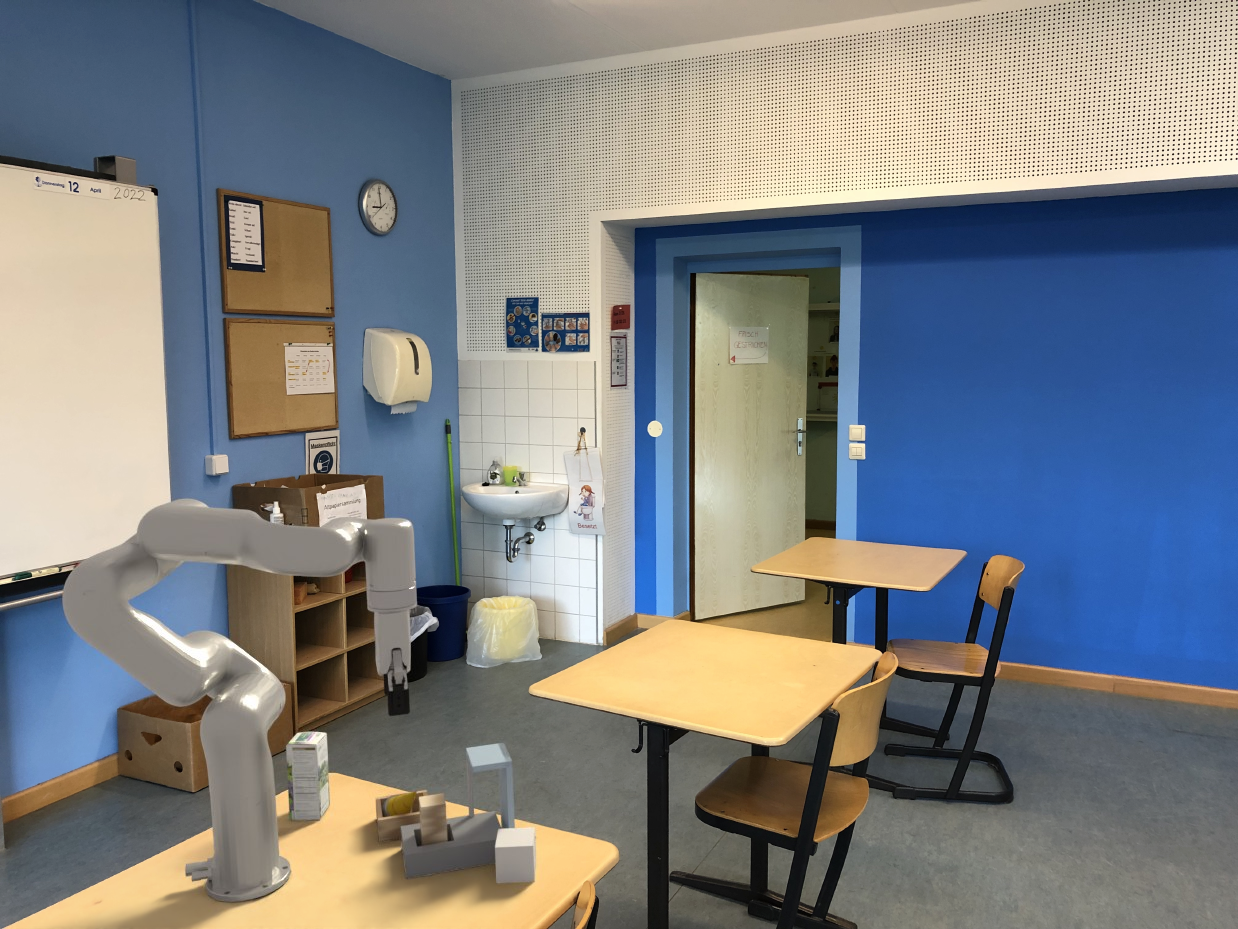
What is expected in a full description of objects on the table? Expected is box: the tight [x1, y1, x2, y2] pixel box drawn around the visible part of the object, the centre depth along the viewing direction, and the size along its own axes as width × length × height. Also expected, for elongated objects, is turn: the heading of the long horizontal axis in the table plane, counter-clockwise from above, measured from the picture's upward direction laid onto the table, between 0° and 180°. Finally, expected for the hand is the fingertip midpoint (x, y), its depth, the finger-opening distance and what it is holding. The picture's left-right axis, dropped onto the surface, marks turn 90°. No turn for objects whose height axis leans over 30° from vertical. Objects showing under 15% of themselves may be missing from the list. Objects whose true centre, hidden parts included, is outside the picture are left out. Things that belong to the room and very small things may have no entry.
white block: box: [495, 826, 537, 884], centre depth 151 cm, size 6×6×6 cm
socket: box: [400, 810, 502, 880], centre depth 157 cm, size 16×10×4 cm, turn 107°
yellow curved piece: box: [382, 790, 417, 817], centre depth 166 cm, size 5×5×10 cm
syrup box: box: [285, 731, 331, 821], centre depth 172 cm, size 6×6×14 cm
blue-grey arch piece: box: [465, 742, 516, 829], centre depth 159 cm, size 6×8×16 cm
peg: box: [419, 793, 448, 846], centre depth 156 cm, size 4×4×10 cm
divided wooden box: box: [374, 789, 429, 844], centre depth 167 cm, size 9×9×4 cm
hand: (396, 703), depth 149 cm, fingers open, 9 cm apart
